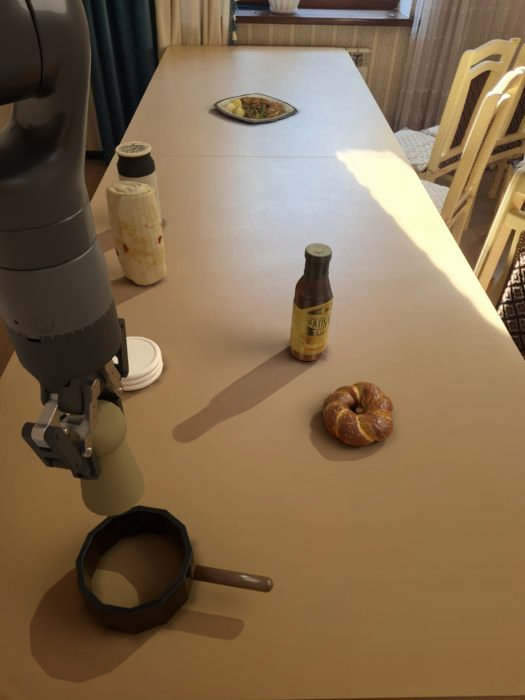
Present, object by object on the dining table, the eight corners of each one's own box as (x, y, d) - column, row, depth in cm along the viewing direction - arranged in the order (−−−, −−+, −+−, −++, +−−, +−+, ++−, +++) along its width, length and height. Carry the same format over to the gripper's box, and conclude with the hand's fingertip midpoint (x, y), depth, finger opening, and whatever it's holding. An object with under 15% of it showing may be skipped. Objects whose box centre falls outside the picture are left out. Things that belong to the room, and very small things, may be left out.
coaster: (175, 365, 90) (173, 349, 88) (133, 401, 84) (129, 385, 82) (132, 342, 94) (128, 327, 92) (88, 375, 88) (83, 360, 86)
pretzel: (333, 382, 87) (335, 366, 85) (400, 401, 84) (405, 384, 82) (311, 437, 79) (312, 420, 76) (385, 459, 76) (389, 442, 73)
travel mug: (160, 233, 122) (149, 155, 110) (124, 233, 122) (110, 155, 110) (164, 216, 128) (154, 140, 116) (131, 216, 128) (117, 140, 116)
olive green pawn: (157, 480, 54) (143, 406, 47) (115, 527, 50) (93, 454, 43) (111, 454, 56) (91, 380, 49) (68, 497, 52) (39, 423, 45)
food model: (171, 270, 111) (159, 177, 98) (164, 289, 106) (150, 193, 93) (125, 268, 112) (107, 175, 99) (115, 286, 107) (95, 191, 94)
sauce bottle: (306, 368, 90) (315, 267, 76) (281, 349, 93) (286, 249, 80) (334, 352, 93) (347, 251, 80) (309, 333, 96) (317, 235, 83)
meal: (252, 130, 172) (252, 122, 170) (204, 108, 186) (203, 101, 184) (307, 112, 185) (308, 104, 183) (258, 93, 198) (258, 86, 196)
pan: (68, 621, 59) (56, 601, 56) (110, 521, 68) (103, 499, 65) (263, 658, 57) (263, 640, 53) (280, 549, 66) (281, 527, 62)
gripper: (53, 239, 43) (94, 387, 55) (-55, 359, 33) (23, 511, 44) (143, 249, 42) (165, 397, 54) (61, 376, 32) (111, 526, 43)
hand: (101, 448), depth 49 cm, fingers closed on olive green pawn, 5 cm apart
